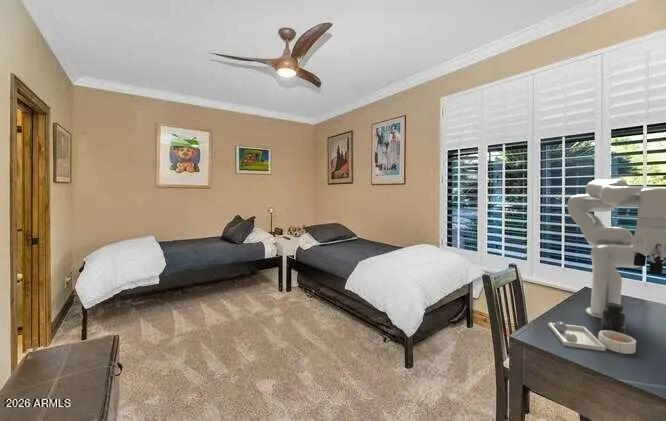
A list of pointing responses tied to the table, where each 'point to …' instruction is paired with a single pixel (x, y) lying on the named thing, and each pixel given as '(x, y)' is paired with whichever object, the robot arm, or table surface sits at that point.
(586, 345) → the parts tray
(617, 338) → the pebble
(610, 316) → the supplement bottle
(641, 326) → the table surface
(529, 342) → the table surface
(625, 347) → the bowl
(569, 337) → the pebble
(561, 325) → the pebble
